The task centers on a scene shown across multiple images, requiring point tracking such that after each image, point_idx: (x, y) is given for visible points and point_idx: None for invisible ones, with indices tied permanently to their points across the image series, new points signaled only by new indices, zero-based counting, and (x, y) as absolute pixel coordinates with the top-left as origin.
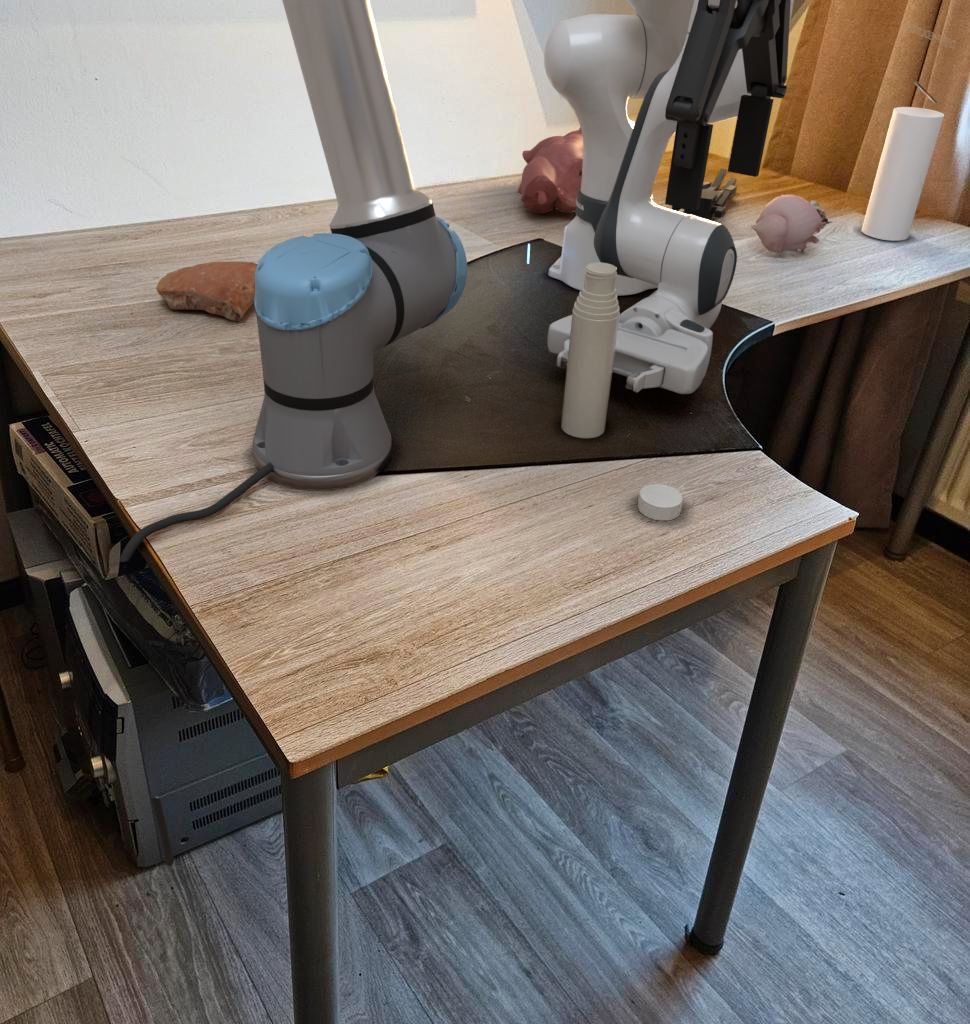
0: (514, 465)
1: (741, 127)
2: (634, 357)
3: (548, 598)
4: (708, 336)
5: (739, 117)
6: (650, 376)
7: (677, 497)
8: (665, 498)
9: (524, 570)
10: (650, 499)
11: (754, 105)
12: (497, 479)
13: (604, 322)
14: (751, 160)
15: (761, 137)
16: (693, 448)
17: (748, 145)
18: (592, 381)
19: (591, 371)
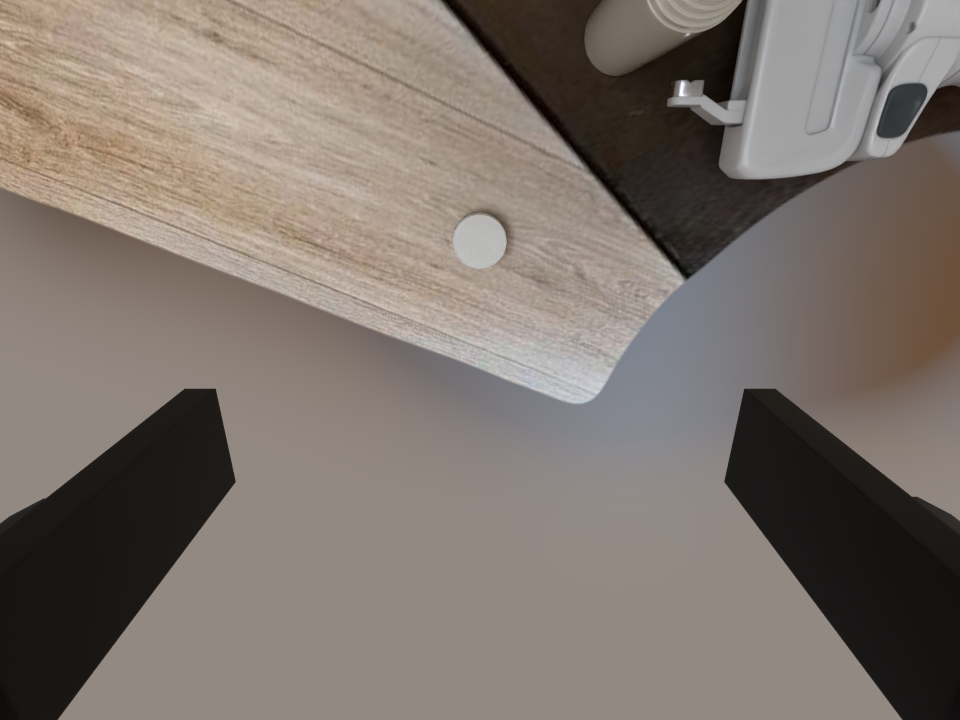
0: (454, 6)
1: (845, 513)
2: (755, 54)
3: (245, 217)
4: (869, 155)
5: (884, 528)
6: (707, 112)
7: (487, 260)
8: (476, 249)
9: (264, 166)
10: (462, 235)
11: (924, 645)
12: (404, 7)
13: (654, 18)
14: (753, 492)
15: (804, 575)
16: (649, 211)
17: (790, 505)
18: (613, 39)
19: (616, 30)
